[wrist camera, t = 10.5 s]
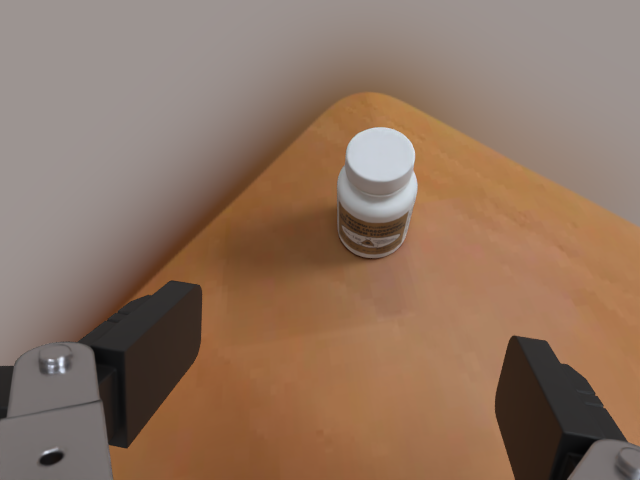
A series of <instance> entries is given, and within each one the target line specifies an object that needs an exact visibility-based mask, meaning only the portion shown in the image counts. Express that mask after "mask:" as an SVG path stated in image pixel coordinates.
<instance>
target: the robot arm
mask: <svg viewBox="0 0 640 480" xmlns="http://www.w3.org/2000/svg"><path fill="white" fill-rule="evenodd" d="M201 320H202V289H201V287H200V285H197V284H191V283H185V282H179V281H169V282H168V283H167V284H166V285H164V286H163V287H162V288H161V289H159V290H158V291H157V292H156V293H154V294H153V295H147V296H144V297H142V298H139V299H136V300H134V301H131V302H129V303H128V304H127V305H125V306H124V307H123V308H121V309H120V310H119V311H118V313H115V314H114V315H112V316H111V317H110V318H108V320H107V321H104V322H103V323H102V324H100V325H99V326H98V327H97V328H95V329H94V330H93V331H91V332H90V333H89V334H87V335H86V336H85V337H83V338H82V339H81V340H79V341H78V342H56V343H49V344H45V345H42V346H39V347H36V348H33V349H31V350H29V351H27V352H26V353H24V354H23V355H21V356H20V357H19V358H18V359H17V360H16V362H15V365H14V366H0V480H113V475H112V468H111V460H110V453H109V445H112V446H117V447H122V448H128V447H129V445H130V444H131V443H132V442H133V440H134V439H135V438H136V436H137V435H138V434H139V433H140V431H141V430H142V429H143V427H144V426H145V425H146V423H147V422H148V421H149V420H150V418H151V417H152V416H153V414H154V413H155V412H156V410H157V409H158V408H159V407H160V405H161V404H162V403H163V401H164V400H165V399H166V398H167V396H168V395H169V394H170V392H171V391H172V390H173V388H174V387H175V386H176V385H177V383H178V382H179V381H180V379H181V378H182V377H183V376H184V374H185V373H186V372H187V370H188V369H189V368H190V366H191V365H192V364H193V363H194V361H195V359H196V357H197V355H198V352H199V348H200V343H201ZM603 406H604V405H603V404H602V402H601V401H600V399H599V398H598V396H595V392H594V390H593V389H592V387H591V386H590V384H589V383H588V381H587V380H586V379H585V378H584V377H583V376H582V375H580V374H579V373H578V372H577V371H575V370H574V369H573V368H572V367H570V366H569V365H567V364H561V363H560V362H559V360H558V359H557V357H556V355H555V354H554V352H553V351H552V349H551V347H550V346H549V344H548V343H547V341H545V340H538V339H532V338H526V337H520V336H512V337H511V338H510V340H509V343H508V346H507V350H506V354H505V358H504V362H503V366H502V370H501V374H500V378H499V382H498V387H497V391H496V397H495V413H496V418H497V422H498V425H499V428H500V431H501V435H502V438H503V441H504V445H505V448H506V451H507V454H508V458H509V461H510V464H511V467H512V471H513V474H514V477H515V480H640V447H639V446H637V445H634V444H631V443H628V441H627V440H626V438H625V437H624V435H623V434H622V432H621V431H620V429H619V428H618V426H617V425H616V423H615V422H614V420H613V419H612V417H611V416H610V414H609V413H608V411H607V410H606V409H605V408H603Z"/></svg>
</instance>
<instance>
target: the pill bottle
mask: <svg viewBox="0 0 640 480" xmlns="http://www.w3.org/2000/svg"><path fill="white" fill-rule="evenodd" d="M414 161H415V151H414V148H413V145H412V144H411V142H410V141H409V139H408V138H407V137H406V136H404V135H403V134H402V133H400V132H398V131H396V130H393V129H390V128H384V127H376V128H370V129H367V130H364V131H362V132H360V133H358V134H357V135H355V136H354V137H353V138H352V140H351V141H350V143H349V144H348V147H347V150H346V160H345V165H344V166H343V168H342V170H341V171H340V174H339V177H338V182H337V223H338V233H339V237H340V239H341V241H342V242H343V244H344V245H345V246H346V247H347V248H348V249H349V250H350V251H351V252H353V253H354V254H356V255H359V256H362V257H367V258H380V257H385V256H387V255H389V254H391V253H393V252H394V251H396V250H397V249H398V248H399V247H400V246H401V245H402V243H403V241H404V239H405V237H406V234H407V230H408V226H409V222H410V218H411V214H412V210H413V206H414V203H415V199H416V195H417V179H416V176H415V173H414V171H413V167H414Z"/></svg>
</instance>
